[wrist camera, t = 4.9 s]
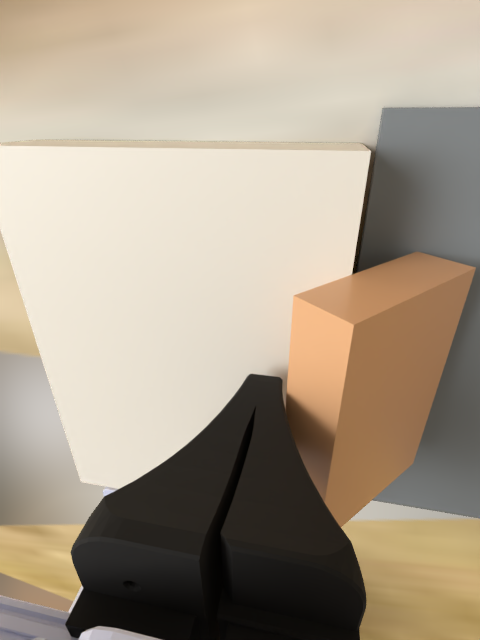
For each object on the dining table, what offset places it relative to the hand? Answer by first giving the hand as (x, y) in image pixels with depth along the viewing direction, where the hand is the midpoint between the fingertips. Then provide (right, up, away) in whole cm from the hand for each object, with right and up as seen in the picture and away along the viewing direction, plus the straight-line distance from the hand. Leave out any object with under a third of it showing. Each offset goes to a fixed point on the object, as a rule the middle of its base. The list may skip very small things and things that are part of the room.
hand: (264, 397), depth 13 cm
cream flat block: (-3, +2, +4) cm, 5 cm away
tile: (+3, 0, +1) cm, 3 cm away
